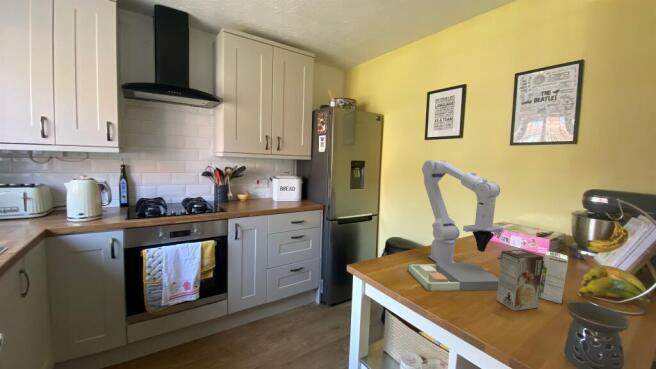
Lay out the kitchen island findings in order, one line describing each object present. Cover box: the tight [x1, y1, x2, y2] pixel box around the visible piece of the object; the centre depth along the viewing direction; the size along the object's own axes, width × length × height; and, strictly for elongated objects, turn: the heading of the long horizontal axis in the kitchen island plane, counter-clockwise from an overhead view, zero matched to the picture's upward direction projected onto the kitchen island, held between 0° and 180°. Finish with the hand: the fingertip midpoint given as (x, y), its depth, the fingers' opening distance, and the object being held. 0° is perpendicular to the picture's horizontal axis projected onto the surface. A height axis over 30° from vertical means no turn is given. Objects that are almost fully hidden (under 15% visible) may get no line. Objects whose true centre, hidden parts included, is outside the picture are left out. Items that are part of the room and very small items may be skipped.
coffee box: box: [496, 249, 544, 312], centre depth 83 cm, size 9×6×16 cm
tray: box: [407, 263, 460, 292], centre depth 98 cm, size 16×11×2 cm
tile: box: [419, 266, 437, 277], centre depth 101 cm, size 4×4×2 cm
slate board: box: [434, 262, 499, 292], centre depth 100 cm, size 16×16×3 cm
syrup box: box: [539, 250, 569, 305], centre depth 88 cm, size 6×6×14 cm
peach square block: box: [428, 273, 448, 282], centre depth 94 cm, size 4×4×2 cm
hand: (480, 250), depth 102 cm, fingers closed
